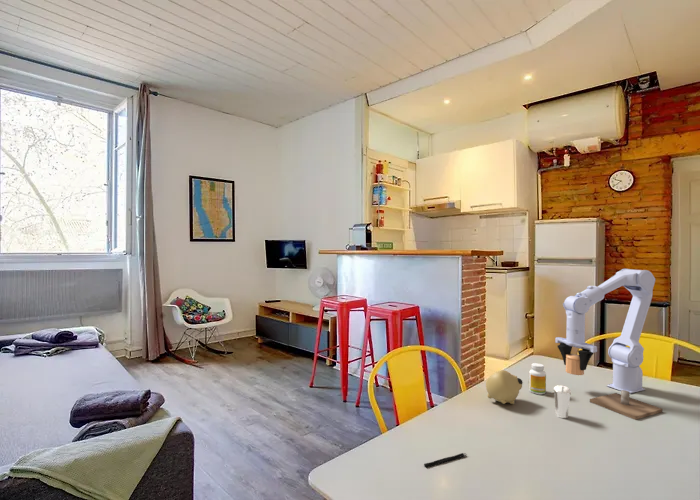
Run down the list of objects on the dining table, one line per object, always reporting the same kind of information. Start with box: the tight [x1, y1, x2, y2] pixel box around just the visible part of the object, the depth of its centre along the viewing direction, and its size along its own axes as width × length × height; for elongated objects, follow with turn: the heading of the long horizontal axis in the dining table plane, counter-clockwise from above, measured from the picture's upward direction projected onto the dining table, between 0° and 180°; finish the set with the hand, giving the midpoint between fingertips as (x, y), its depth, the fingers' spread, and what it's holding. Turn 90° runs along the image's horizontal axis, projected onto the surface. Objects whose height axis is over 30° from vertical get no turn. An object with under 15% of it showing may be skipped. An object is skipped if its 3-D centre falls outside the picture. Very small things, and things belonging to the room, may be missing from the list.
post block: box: [589, 390, 663, 420], centre depth 123 cm, size 14×14×5 cm
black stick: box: [423, 452, 468, 469], centre depth 90 cm, size 12×1×1 cm, turn 115°
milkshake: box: [553, 384, 572, 419], centre depth 115 cm, size 4×5×10 cm
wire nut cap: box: [565, 353, 585, 376], centre depth 137 cm, size 6×6×6 cm
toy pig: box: [485, 370, 524, 405], centre depth 126 cm, size 10×12×11 cm
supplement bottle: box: [528, 362, 547, 395], centre depth 135 cm, size 5×5×10 cm
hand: (574, 367), depth 137 cm, fingers closed on wire nut cap, 6 cm apart
